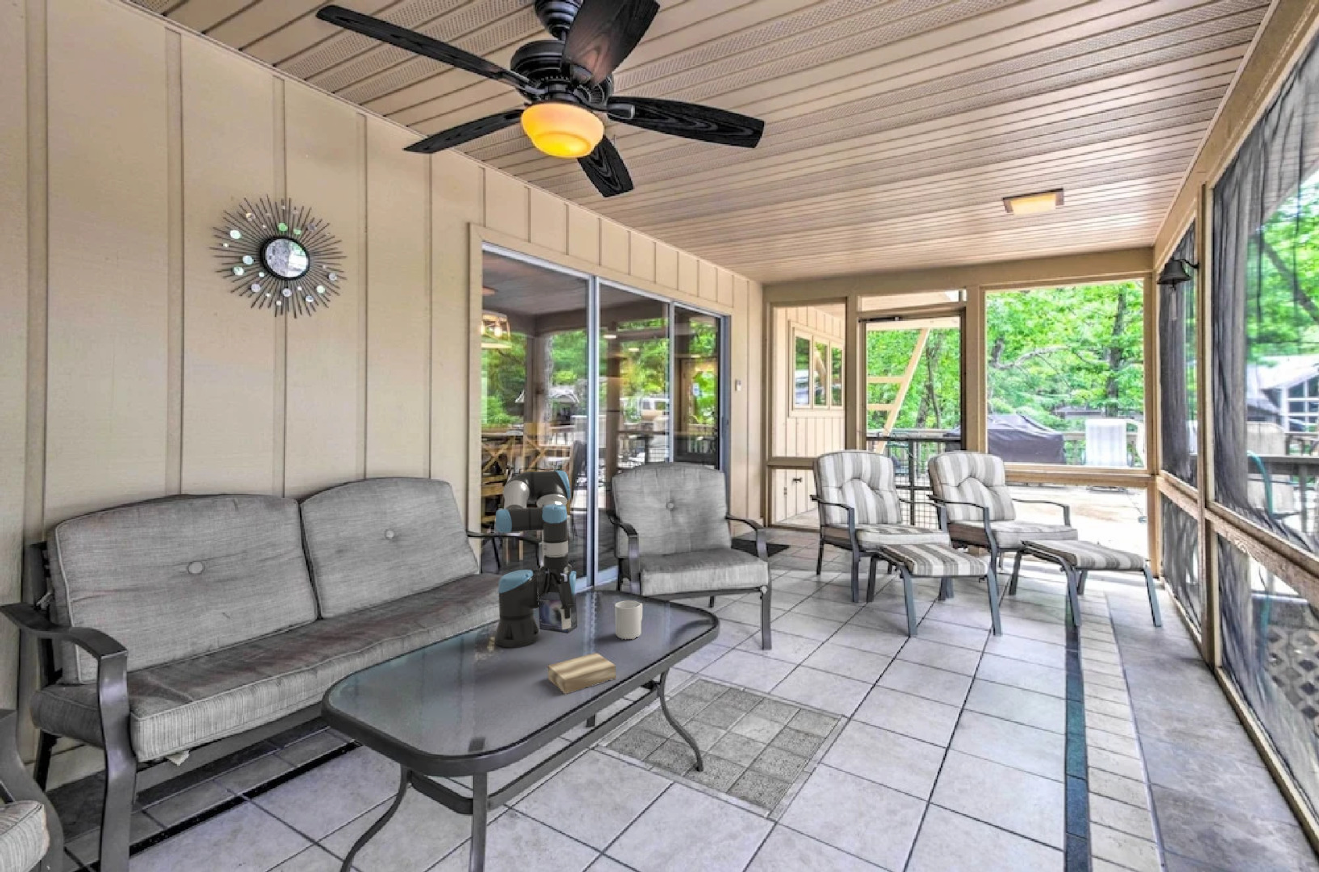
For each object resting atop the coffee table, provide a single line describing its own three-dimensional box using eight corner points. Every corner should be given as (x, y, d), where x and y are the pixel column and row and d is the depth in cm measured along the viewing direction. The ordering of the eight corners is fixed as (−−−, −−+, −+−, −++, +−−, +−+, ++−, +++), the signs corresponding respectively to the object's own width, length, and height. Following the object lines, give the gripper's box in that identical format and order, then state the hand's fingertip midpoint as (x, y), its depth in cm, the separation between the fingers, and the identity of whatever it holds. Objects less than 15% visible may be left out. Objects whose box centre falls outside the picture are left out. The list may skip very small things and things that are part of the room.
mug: (630, 642, 204) (629, 610, 204) (610, 637, 209) (609, 605, 209) (651, 631, 214) (650, 600, 213) (631, 627, 219) (631, 596, 218)
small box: (538, 630, 189) (537, 597, 188) (549, 623, 195) (548, 591, 194) (567, 634, 185) (566, 600, 184) (578, 626, 191) (577, 594, 190)
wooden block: (548, 679, 177) (547, 665, 177) (596, 665, 186) (596, 652, 186) (565, 694, 167) (565, 679, 167) (615, 679, 176) (615, 665, 176)
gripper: (530, 549, 197) (532, 614, 198) (560, 564, 177) (563, 637, 178) (551, 545, 201) (553, 609, 202) (583, 560, 181) (586, 631, 182)
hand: (558, 622), depth 190 cm, fingers closed on small box, 12 cm apart
